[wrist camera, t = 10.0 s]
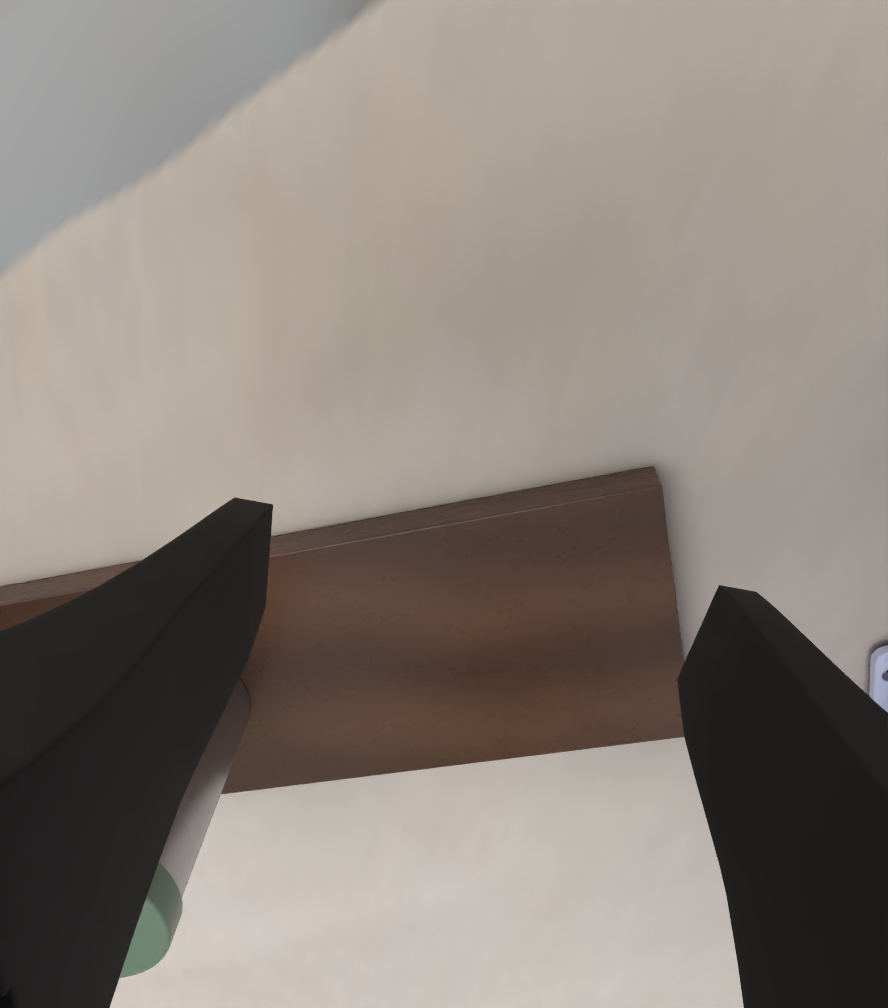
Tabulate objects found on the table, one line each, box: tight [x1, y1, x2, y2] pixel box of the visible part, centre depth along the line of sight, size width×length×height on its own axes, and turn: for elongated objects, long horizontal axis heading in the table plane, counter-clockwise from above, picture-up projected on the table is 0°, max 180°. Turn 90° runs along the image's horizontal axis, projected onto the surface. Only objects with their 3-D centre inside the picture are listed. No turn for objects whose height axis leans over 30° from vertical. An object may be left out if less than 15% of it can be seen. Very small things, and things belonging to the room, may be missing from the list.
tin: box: [119, 679, 250, 978], centre depth 23 cm, size 5×5×8 cm
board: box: [0, 466, 684, 794], centre depth 27 cm, size 10×24×1 cm, turn 104°
